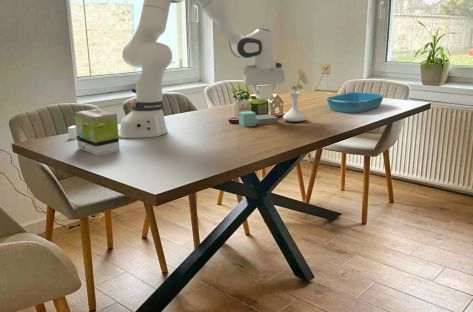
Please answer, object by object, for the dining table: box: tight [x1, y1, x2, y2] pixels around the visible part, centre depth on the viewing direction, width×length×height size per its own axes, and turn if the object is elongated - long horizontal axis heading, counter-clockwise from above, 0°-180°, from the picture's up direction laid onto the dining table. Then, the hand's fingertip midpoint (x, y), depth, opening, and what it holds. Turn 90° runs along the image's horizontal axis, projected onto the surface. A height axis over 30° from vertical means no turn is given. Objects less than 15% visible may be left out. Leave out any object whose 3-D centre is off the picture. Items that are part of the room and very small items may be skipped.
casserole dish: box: [326, 91, 385, 114], centre depth 266 cm, size 37×22×7 cm, turn 137°
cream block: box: [255, 84, 274, 101], centre depth 230 cm, size 6×6×6 cm
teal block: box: [238, 110, 257, 128], centre depth 227 cm, size 6×6×6 cm
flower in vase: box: [282, 68, 309, 123], centre depth 233 cm, size 13×11×25 cm
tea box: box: [74, 108, 121, 157], centre depth 183 cm, size 15×10×15 cm
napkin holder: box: [67, 125, 77, 140], centre depth 208 cm, size 15×11×6 cm
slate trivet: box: [256, 113, 279, 125], centre depth 234 cm, size 10×10×2 cm
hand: (264, 93), depth 231 cm, fingers closed on cream block, 6 cm apart
